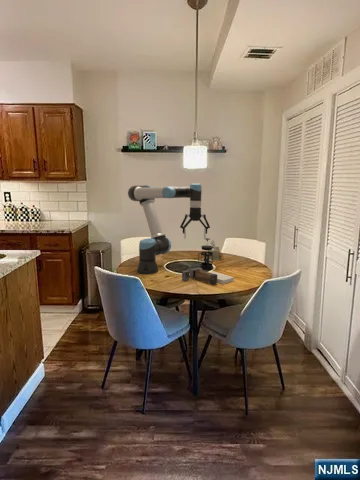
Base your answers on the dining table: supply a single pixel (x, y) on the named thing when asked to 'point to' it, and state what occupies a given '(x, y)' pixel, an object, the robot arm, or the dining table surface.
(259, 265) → the dining table surface
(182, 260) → the dining table surface
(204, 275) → the bar
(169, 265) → the dining table surface
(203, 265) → the french press
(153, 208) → the robot arm
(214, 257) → the tissue box
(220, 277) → the table-top board
